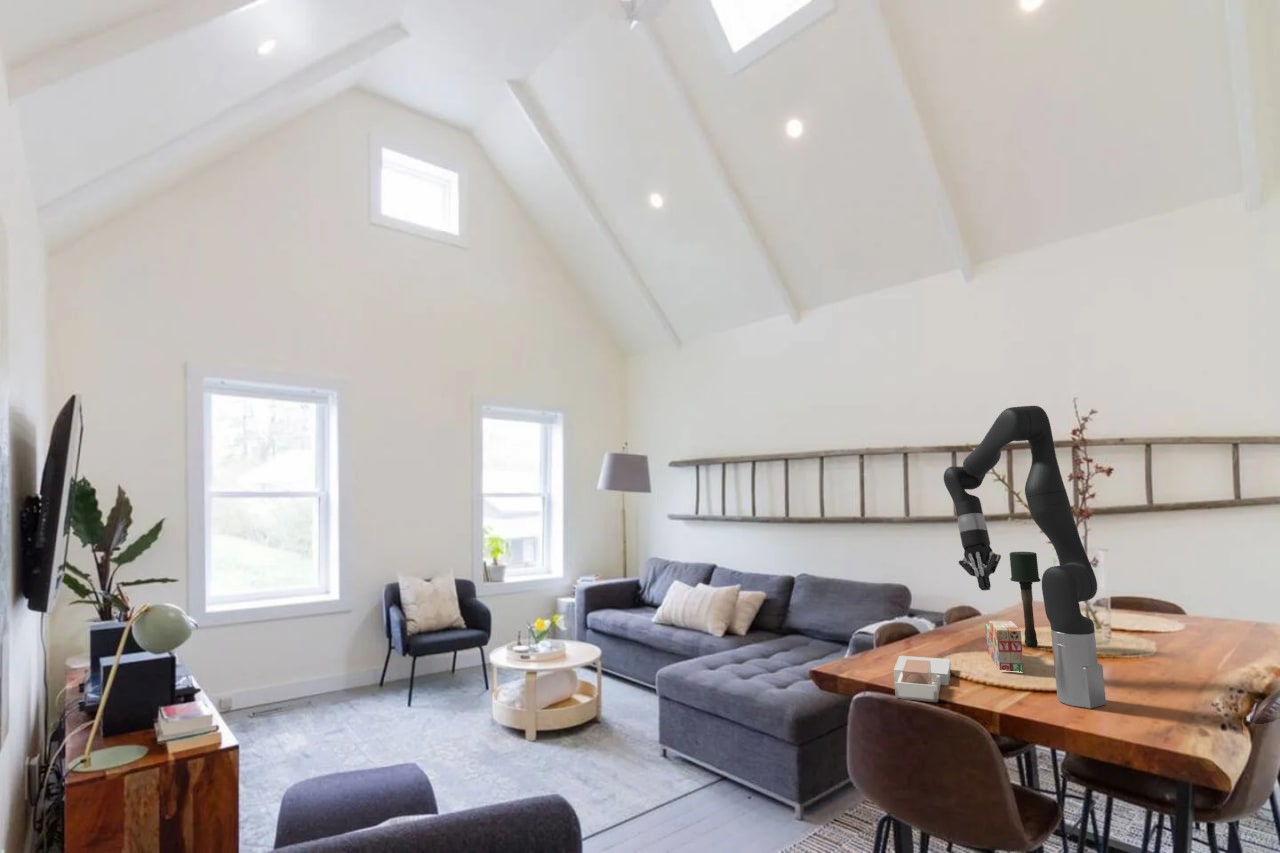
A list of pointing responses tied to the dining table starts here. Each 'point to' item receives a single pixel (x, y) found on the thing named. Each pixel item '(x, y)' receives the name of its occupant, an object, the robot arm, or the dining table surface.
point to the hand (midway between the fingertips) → (985, 590)
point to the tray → (917, 690)
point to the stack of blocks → (1005, 645)
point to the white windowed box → (937, 668)
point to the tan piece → (917, 672)
